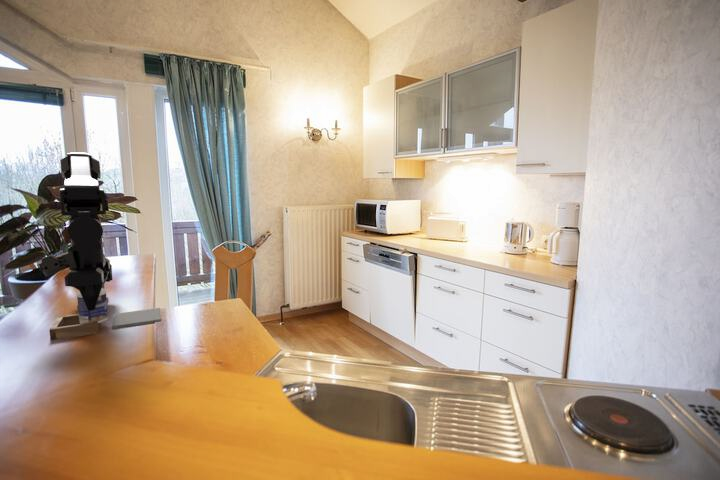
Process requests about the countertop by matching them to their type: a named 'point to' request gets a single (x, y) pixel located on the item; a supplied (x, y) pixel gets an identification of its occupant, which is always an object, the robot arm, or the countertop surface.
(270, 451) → the countertop surface
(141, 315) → the slate coaster
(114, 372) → the countertop surface
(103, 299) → the pill bottle
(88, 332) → the wooden u-shaped frame
